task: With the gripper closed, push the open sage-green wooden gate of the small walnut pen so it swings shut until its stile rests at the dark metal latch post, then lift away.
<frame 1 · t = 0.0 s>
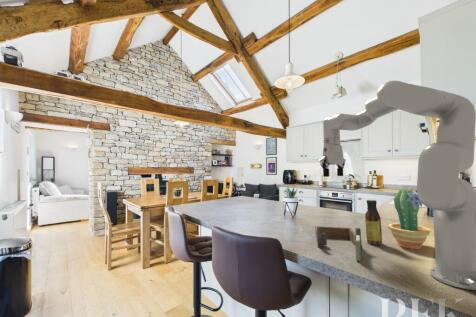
hand: (333, 176, 110), 31 cm above the counter, tool pointing down, fingers open, 9 cm apart
sauce bottle: (374, 243, 102), on the counter
potted cactus: (409, 245, 98), on the counter
gate: (358, 245, 88), point 4 cm above the counter, hinge at 75.0°
pen fence: (358, 249, 95), on the counter
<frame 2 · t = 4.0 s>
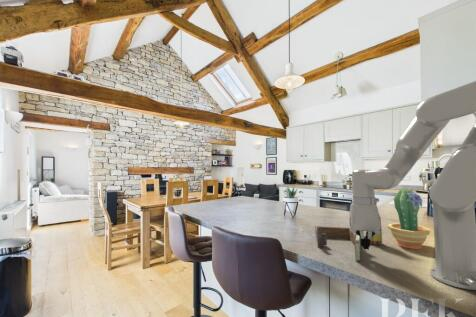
hand: (365, 248, 86), 4 cm above the counter, tool pointing down, fingers closed
gate: (357, 245, 88), point 4 cm above the counter, hinge at 74.1°, touching gripper
everything else where it was.
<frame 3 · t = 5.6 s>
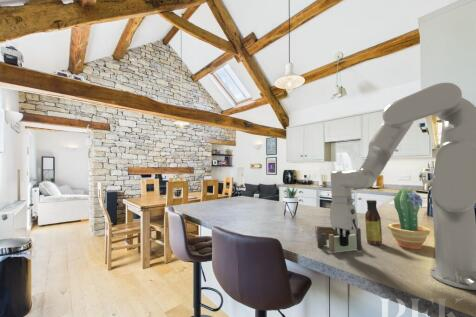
hand: (344, 245, 90), 4 cm above the counter, tool pointing down, fingers closed
gate: (342, 241, 93), point 4 cm above the counter, hinge at 27.7°, touching gripper
everything else where it was.
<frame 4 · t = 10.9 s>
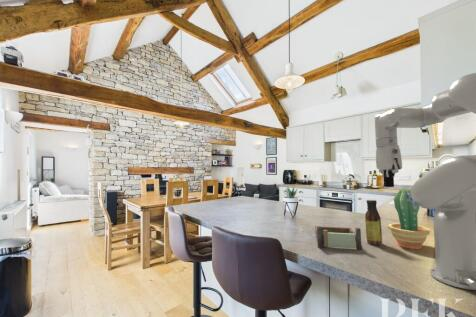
hand: (388, 186, 91), 27 cm above the counter, tool pointing down, fingers closed
gate: (339, 239, 97), point 4 cm above the counter, hinge at -0.6°
everything else where it was.
at the end: gate at -1° (first picture: +75°); sauce bottle moved 0.2 cm from its start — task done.
